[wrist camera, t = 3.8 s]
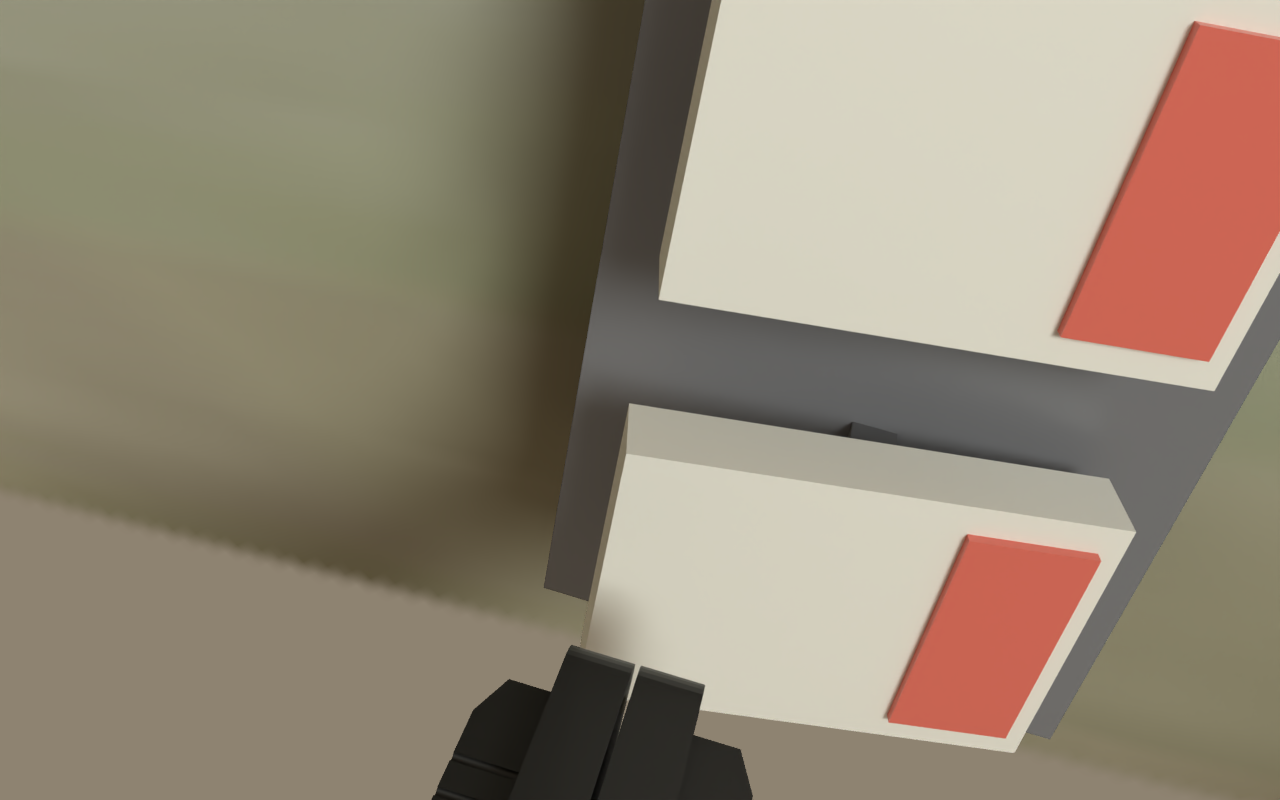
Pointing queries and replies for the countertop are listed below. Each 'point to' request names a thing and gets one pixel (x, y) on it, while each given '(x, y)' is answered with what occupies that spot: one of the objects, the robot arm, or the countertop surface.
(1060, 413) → the power strip
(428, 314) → the countertop surface
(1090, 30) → the rocker middle
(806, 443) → the rocker
